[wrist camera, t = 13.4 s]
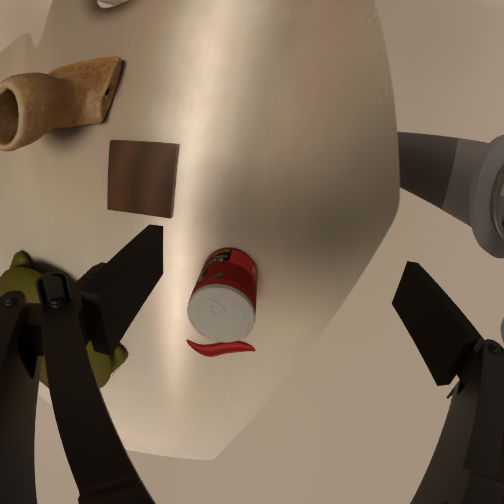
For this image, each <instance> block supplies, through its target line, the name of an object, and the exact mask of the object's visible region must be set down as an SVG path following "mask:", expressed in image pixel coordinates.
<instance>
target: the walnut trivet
mask: <svg viewBox="0 0 504 504" xmlns="http://www.w3.org/2000/svg"><path fill="white" fill-rule="evenodd" d="M178 152H179V144H173V143H161V142H146V141H127V140H110V149H109V165H108V210H115V211H122V212H130V213H137V214H144V215H151V216H158V217H165V218H171V217H172V216H173V206H174V193H175V182H176V171H177V161H178Z"/></svg>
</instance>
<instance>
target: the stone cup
mask: <svg viewBox="0 0 504 504" xmlns="http://www.w3.org/2000/svg"><path fill="white" fill-rule="evenodd" d="M120 70H121V58H120V57H108V58H98V59H94V60H88V61H83V62H78V63H73V64H69V65H66V66H63V67H60V68H57V69H55V70H53V71H51V72H50V73H48V74H44V73H26V74H18V75H14V76H11V77H9V78H7V79H5V80H4V81H3V82H1V83H0V150H3V151H13V150H16V149H18V148H20V147H23V146H26V145H29V144H31V143H33V142H35V141H36V140H38V139H39V138H41V137H42V136H43V135H45V134H46V133H47V132H49V131H50V130H52V129H53V128H66V127H73V126H80V125H86V124H97V123H101V122H102V121H103V120H104V117H105V114H106V112H107V110H108V109H109V107H110V103H111V101H112V97H113V96H114V93H115V88H116V86H117V83H118V80H119V73H120Z"/></svg>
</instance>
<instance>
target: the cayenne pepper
mask: <svg viewBox="0 0 504 504" xmlns="http://www.w3.org/2000/svg"><path fill="white" fill-rule="evenodd" d="M187 343H188V344H189V345H190V346H191V347H192V348H193V349H194V350H195V351H197V352H198V353H200V354H202V355H204V356H208V357H214V356H218V355H221V354H226V353H233V352H244V351H255V349H254V348H253V347H252V346H251V345H249V344H247V343H244V342H240V341H234V342H220V343H216V344H210V345H199V344H196V343H193V342H191V341H189V340H187Z"/></svg>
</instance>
